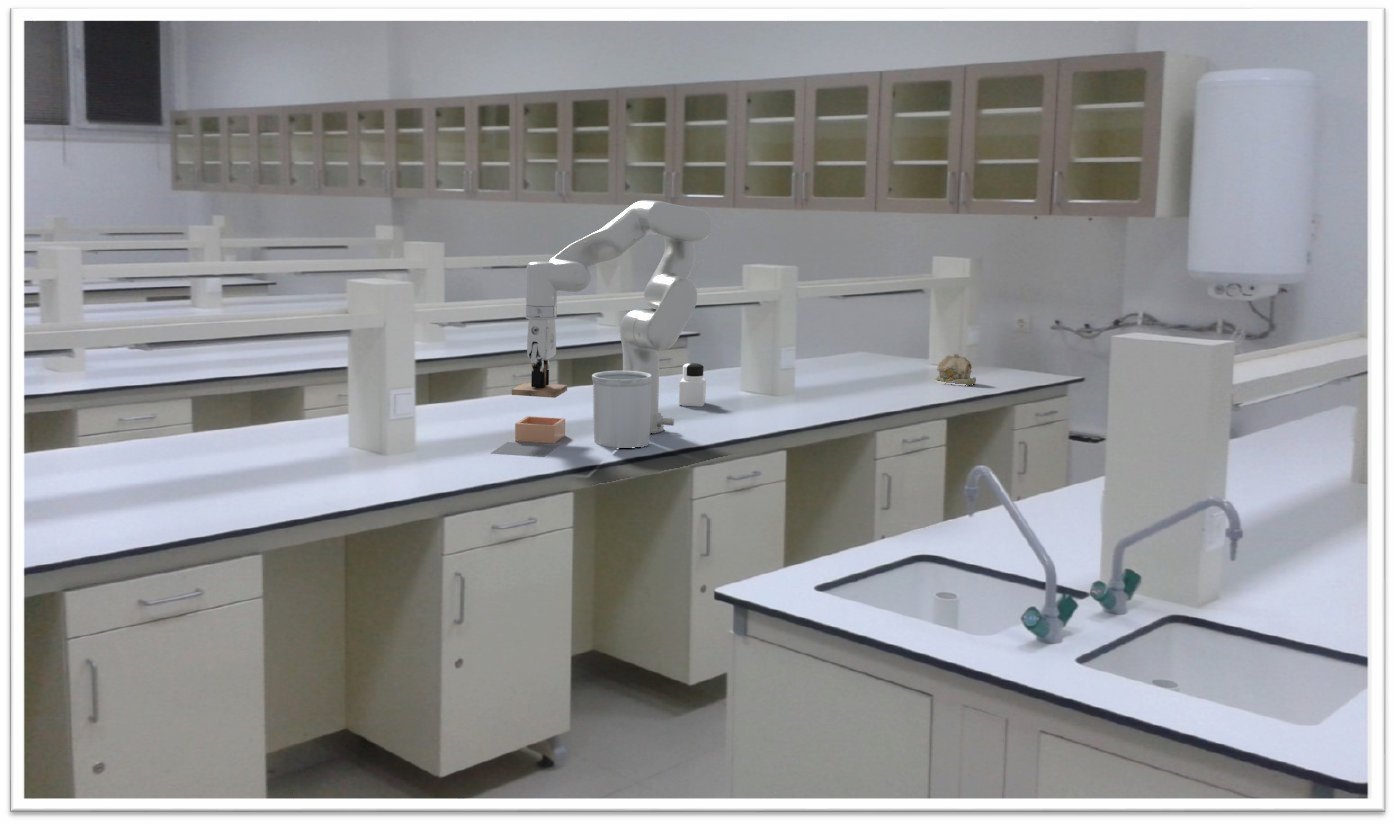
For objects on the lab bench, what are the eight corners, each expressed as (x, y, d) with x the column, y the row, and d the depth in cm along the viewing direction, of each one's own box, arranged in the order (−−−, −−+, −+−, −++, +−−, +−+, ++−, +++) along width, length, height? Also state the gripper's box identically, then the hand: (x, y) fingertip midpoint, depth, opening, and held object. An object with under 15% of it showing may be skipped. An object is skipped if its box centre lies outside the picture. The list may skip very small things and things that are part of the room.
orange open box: (565, 437, 320) (565, 418, 319) (554, 446, 310) (554, 426, 309) (527, 435, 321) (527, 416, 320) (515, 443, 311) (515, 423, 310)
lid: (567, 390, 318) (567, 363, 316) (555, 397, 307) (555, 369, 306) (525, 387, 319) (525, 360, 318) (511, 394, 309) (511, 366, 307)
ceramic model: (928, 383, 422) (930, 353, 421) (940, 378, 432) (942, 349, 430) (969, 387, 415) (971, 357, 413) (980, 383, 425) (982, 354, 423)
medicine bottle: (705, 402, 374) (706, 362, 372) (703, 407, 367) (704, 366, 365) (681, 401, 375) (682, 361, 372) (678, 405, 368) (679, 365, 365)
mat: (558, 447, 308) (558, 445, 308) (543, 459, 296) (543, 456, 295) (507, 444, 310) (507, 441, 310) (490, 455, 298) (490, 453, 297)
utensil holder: (578, 444, 313) (579, 374, 309) (615, 435, 325) (616, 367, 322) (626, 453, 305) (627, 381, 301) (662, 443, 317) (663, 374, 314)
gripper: (546, 316, 301) (545, 392, 304) (564, 310, 317) (563, 382, 320) (516, 314, 302) (515, 390, 305) (535, 308, 318) (535, 380, 321)
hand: (540, 385), depth 313 cm, fingers closed on lid, 3 cm apart
